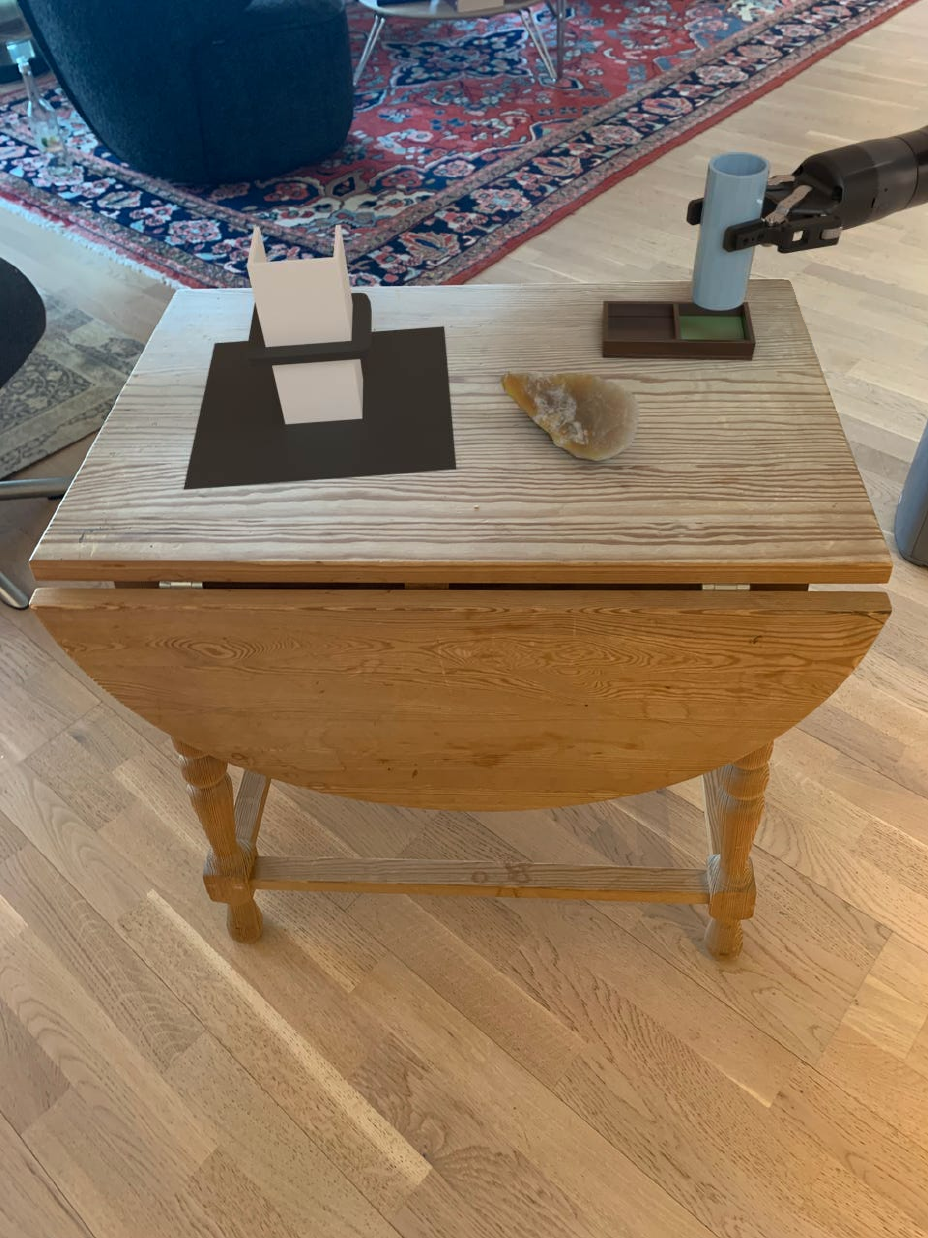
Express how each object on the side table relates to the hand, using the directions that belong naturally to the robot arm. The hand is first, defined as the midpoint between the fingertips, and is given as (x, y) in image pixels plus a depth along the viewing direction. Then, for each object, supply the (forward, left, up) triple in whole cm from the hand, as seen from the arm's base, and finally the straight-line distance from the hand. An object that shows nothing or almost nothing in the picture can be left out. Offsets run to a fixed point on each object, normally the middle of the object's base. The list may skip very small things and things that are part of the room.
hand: (707, 226), depth 87 cm
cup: (-3, 0, -8) cm, 8 cm away
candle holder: (+38, -5, -13) cm, 40 cm away
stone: (+18, +9, -13) cm, 24 cm away
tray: (+1, -2, -12) cm, 13 cm away
